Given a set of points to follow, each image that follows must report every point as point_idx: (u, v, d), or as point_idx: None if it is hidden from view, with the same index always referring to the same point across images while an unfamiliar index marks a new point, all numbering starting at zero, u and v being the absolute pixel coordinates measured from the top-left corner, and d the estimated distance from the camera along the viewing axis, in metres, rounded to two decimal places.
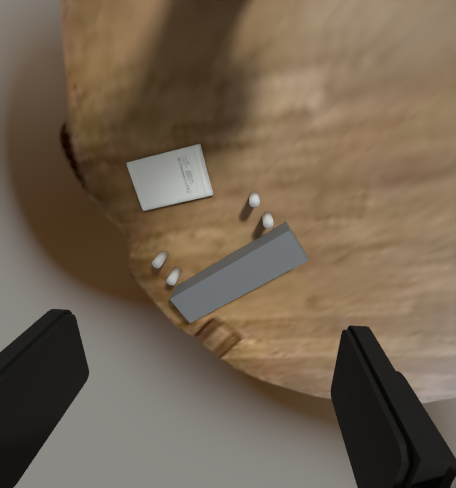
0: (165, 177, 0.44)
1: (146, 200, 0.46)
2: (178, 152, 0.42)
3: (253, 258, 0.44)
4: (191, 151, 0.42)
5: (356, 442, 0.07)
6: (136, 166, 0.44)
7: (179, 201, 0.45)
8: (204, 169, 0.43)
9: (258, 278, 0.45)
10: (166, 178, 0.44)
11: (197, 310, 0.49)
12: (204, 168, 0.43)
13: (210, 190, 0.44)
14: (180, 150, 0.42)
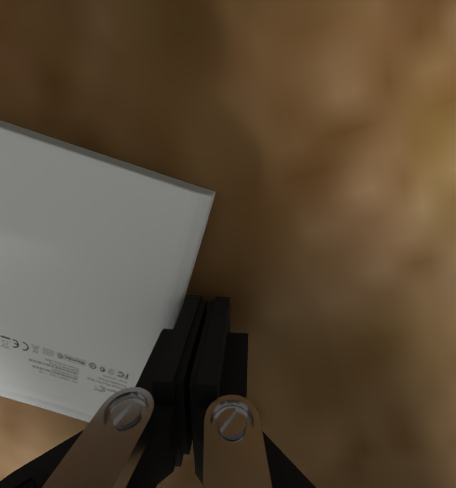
0: (81, 305, 0.10)
1: (4, 167, 0.09)
2: None
3: None
4: None
5: None
6: (171, 233, 0.09)
7: None
8: (64, 411, 0.13)
9: None
10: (77, 305, 0.10)
11: None
12: (67, 413, 0.13)
13: None
14: None
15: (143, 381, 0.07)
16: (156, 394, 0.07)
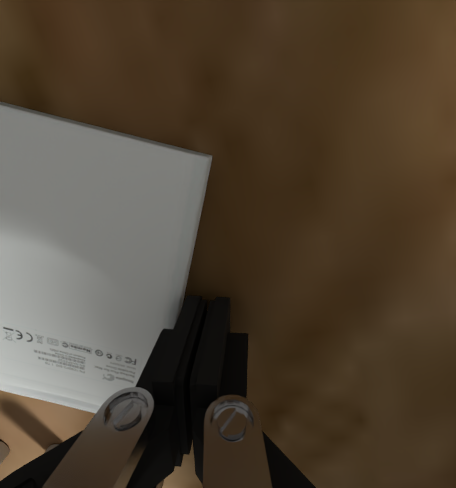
0: (81, 288, 0.10)
1: None
2: None
3: None
4: None
5: None
6: (169, 201, 0.08)
7: None
8: (74, 404, 0.13)
9: None
10: (78, 288, 0.10)
11: None
12: (77, 405, 0.13)
13: (2, 387, 0.13)
14: None
15: (143, 381, 0.07)
16: (156, 394, 0.07)
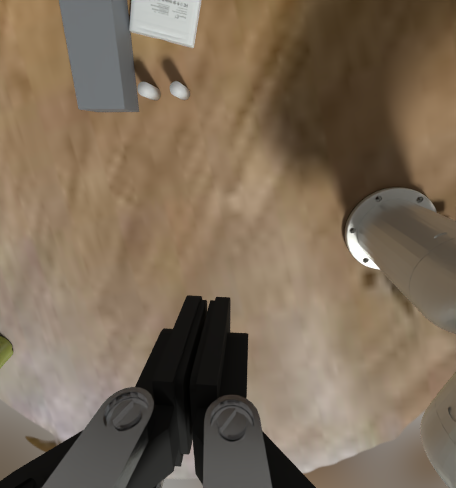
0: None
1: None
2: (193, 10, 0.32)
3: (106, 38, 0.31)
4: (188, 30, 0.33)
5: None
6: None
7: None
8: (162, 36, 0.34)
9: (75, 26, 0.31)
10: None
11: None
12: (163, 36, 0.34)
13: (135, 29, 0.34)
14: (195, 14, 0.33)
15: (143, 381, 0.07)
16: (156, 394, 0.07)
